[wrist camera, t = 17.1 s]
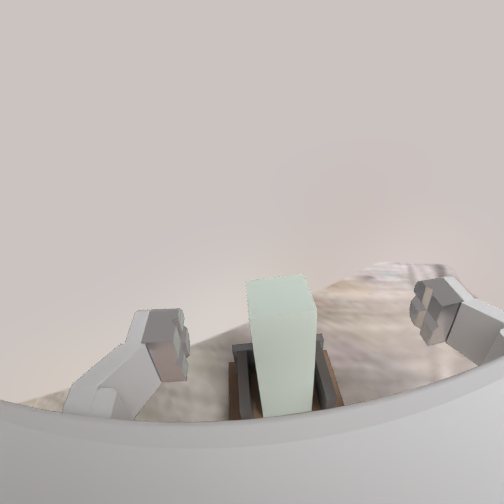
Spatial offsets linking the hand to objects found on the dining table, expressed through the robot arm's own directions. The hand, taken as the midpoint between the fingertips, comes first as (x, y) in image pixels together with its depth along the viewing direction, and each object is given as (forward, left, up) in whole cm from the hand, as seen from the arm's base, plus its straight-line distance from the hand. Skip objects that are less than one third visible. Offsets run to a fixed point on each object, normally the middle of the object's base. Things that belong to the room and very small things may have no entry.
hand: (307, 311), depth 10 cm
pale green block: (0, +12, -22) cm, 25 cm away
